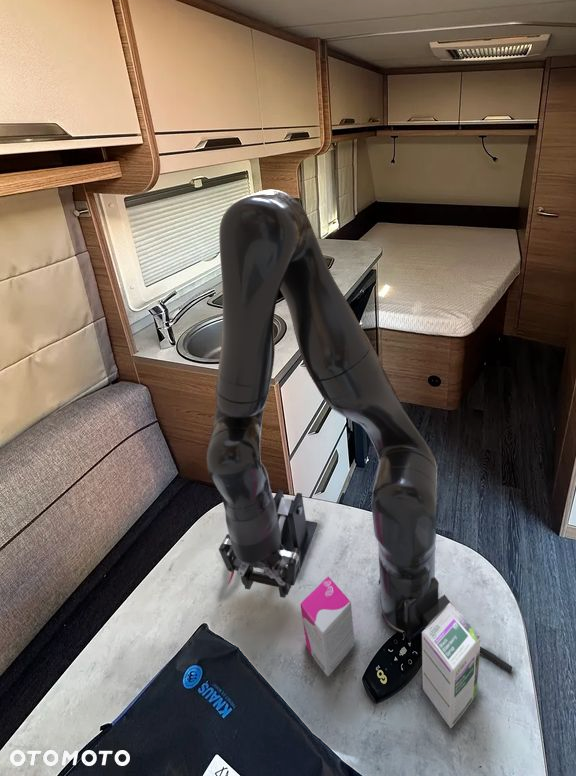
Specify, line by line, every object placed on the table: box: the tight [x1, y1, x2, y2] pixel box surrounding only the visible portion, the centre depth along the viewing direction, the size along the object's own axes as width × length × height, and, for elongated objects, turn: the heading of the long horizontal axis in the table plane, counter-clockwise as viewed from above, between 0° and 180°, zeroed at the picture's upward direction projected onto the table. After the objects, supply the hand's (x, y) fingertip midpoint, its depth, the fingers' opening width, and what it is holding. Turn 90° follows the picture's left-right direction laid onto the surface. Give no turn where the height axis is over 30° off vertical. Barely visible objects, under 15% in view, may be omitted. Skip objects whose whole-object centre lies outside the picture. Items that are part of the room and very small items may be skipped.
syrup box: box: [421, 602, 482, 729], centre depth 56 cm, size 6×6×14 cm
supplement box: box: [300, 576, 355, 677], centre depth 62 cm, size 6×6×12 cm
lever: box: [248, 497, 294, 588], centre depth 72 cm, size 13×6×2 cm, turn 169°
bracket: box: [273, 489, 318, 573], centre depth 77 cm, size 10×7×13 cm
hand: (267, 587), depth 69 cm, fingers closed on lever, 6 cm apart
